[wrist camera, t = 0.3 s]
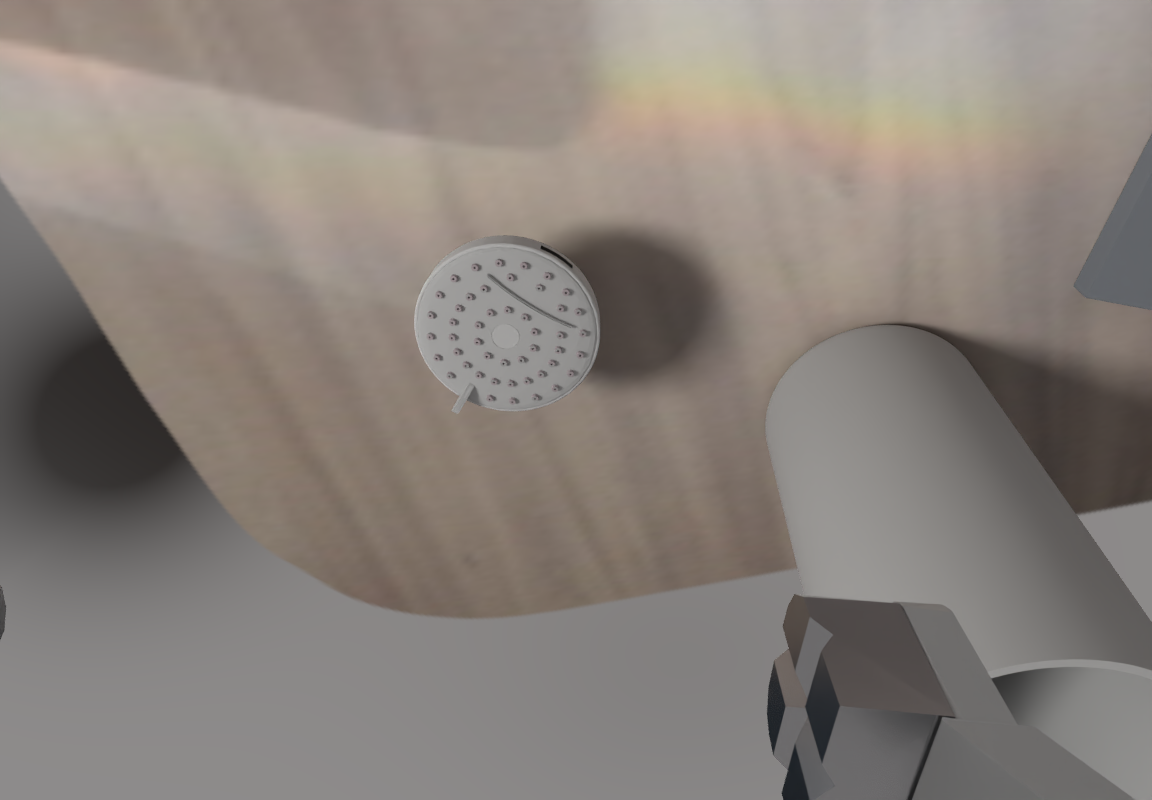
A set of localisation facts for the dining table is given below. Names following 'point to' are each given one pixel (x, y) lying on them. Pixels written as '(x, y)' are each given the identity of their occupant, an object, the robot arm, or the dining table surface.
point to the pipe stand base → (1124, 245)
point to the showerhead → (508, 324)
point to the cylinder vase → (961, 535)
